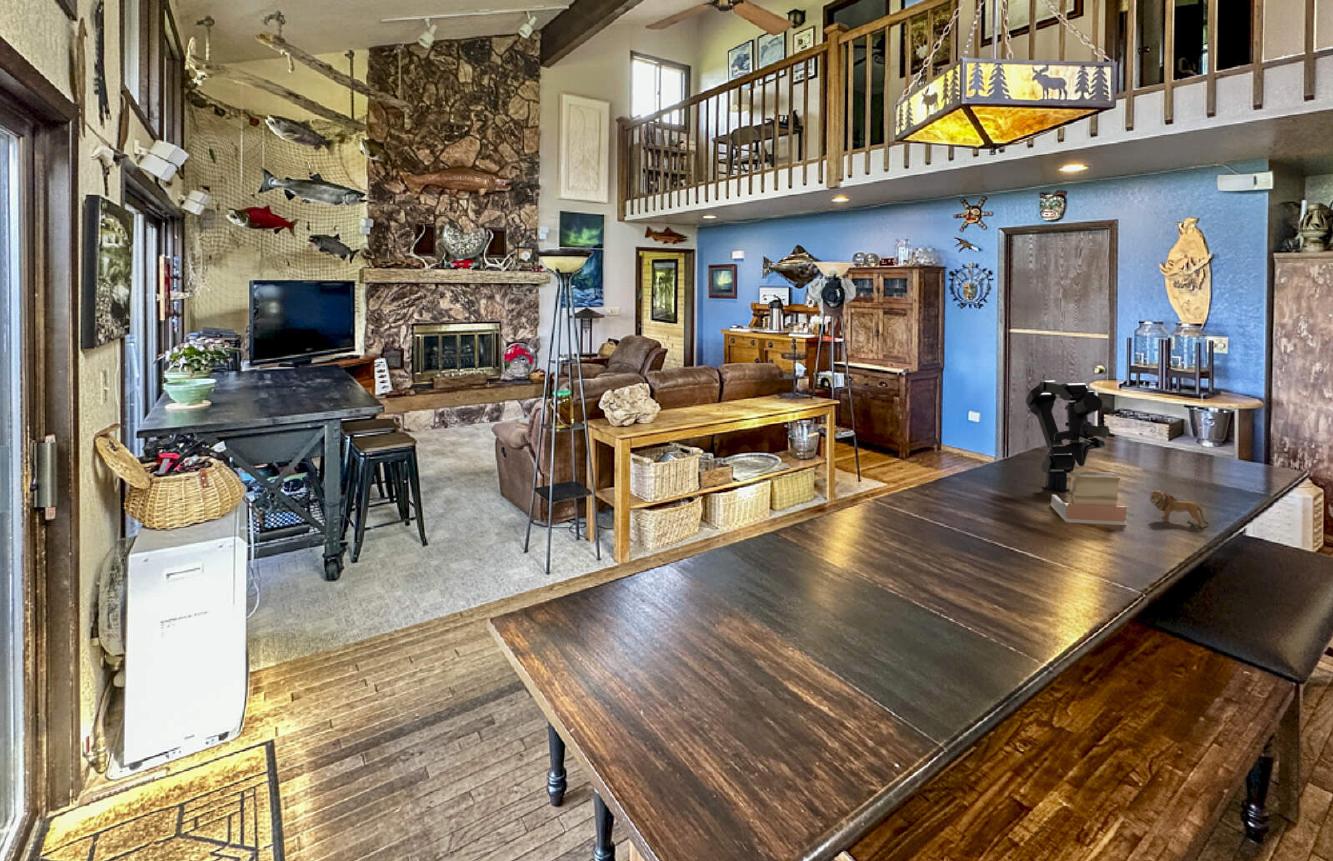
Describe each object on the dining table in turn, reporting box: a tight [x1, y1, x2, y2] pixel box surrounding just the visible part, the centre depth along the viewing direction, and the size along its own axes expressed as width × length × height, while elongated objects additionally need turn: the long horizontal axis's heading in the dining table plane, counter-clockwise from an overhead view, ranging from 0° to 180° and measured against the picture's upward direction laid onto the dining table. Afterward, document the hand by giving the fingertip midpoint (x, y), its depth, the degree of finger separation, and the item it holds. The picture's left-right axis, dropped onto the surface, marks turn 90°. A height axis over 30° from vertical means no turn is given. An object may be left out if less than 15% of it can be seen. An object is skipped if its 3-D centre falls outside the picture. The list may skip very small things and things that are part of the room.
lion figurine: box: [1149, 489, 1210, 527], centre depth 206 cm, size 15×5×9 cm, turn 54°
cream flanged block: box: [1068, 470, 1121, 506], centre depth 210 cm, size 6×11×13 cm, turn 75°
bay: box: [1050, 494, 1128, 526], centre depth 216 cm, size 19×16×6 cm
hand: (1081, 465), depth 225 cm, fingers closed
